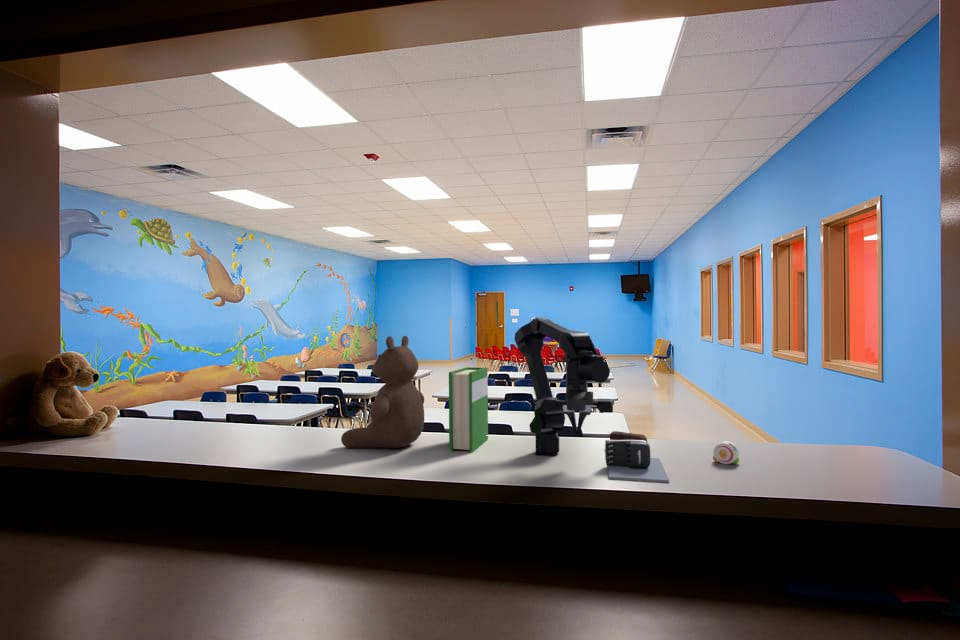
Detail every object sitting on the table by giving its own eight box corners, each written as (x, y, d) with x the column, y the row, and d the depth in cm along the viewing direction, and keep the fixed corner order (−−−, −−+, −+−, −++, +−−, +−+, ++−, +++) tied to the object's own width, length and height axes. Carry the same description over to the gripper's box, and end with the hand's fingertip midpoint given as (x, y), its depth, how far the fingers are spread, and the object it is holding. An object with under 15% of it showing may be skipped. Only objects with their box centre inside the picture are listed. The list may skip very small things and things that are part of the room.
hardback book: (472, 452, 150) (471, 372, 150) (449, 451, 152) (448, 372, 152) (488, 439, 166) (487, 367, 167) (466, 438, 169) (466, 367, 169)
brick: (609, 448, 154) (609, 433, 154) (613, 445, 157) (612, 430, 157) (645, 452, 149) (644, 437, 149) (647, 449, 152) (647, 434, 152)
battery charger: (605, 442, 130) (651, 444, 128) (604, 438, 134) (649, 439, 131) (605, 468, 130) (651, 470, 128) (605, 463, 134) (649, 465, 132)
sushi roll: (736, 467, 132) (736, 445, 132) (711, 463, 136) (710, 441, 136) (740, 463, 136) (740, 442, 136) (715, 459, 140) (715, 439, 140)
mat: (609, 479, 123) (609, 476, 123) (607, 457, 142) (607, 455, 142) (669, 482, 120) (669, 480, 120) (659, 460, 139) (659, 458, 139)
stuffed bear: (380, 433, 177) (377, 335, 178) (437, 437, 169) (435, 334, 170) (326, 454, 150) (324, 338, 151) (392, 459, 142) (389, 336, 143)
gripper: (539, 381, 129) (539, 442, 129) (613, 383, 125) (614, 445, 125) (543, 376, 140) (543, 432, 140) (611, 378, 136) (612, 435, 136)
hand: (576, 436), depth 135 cm, fingers closed
